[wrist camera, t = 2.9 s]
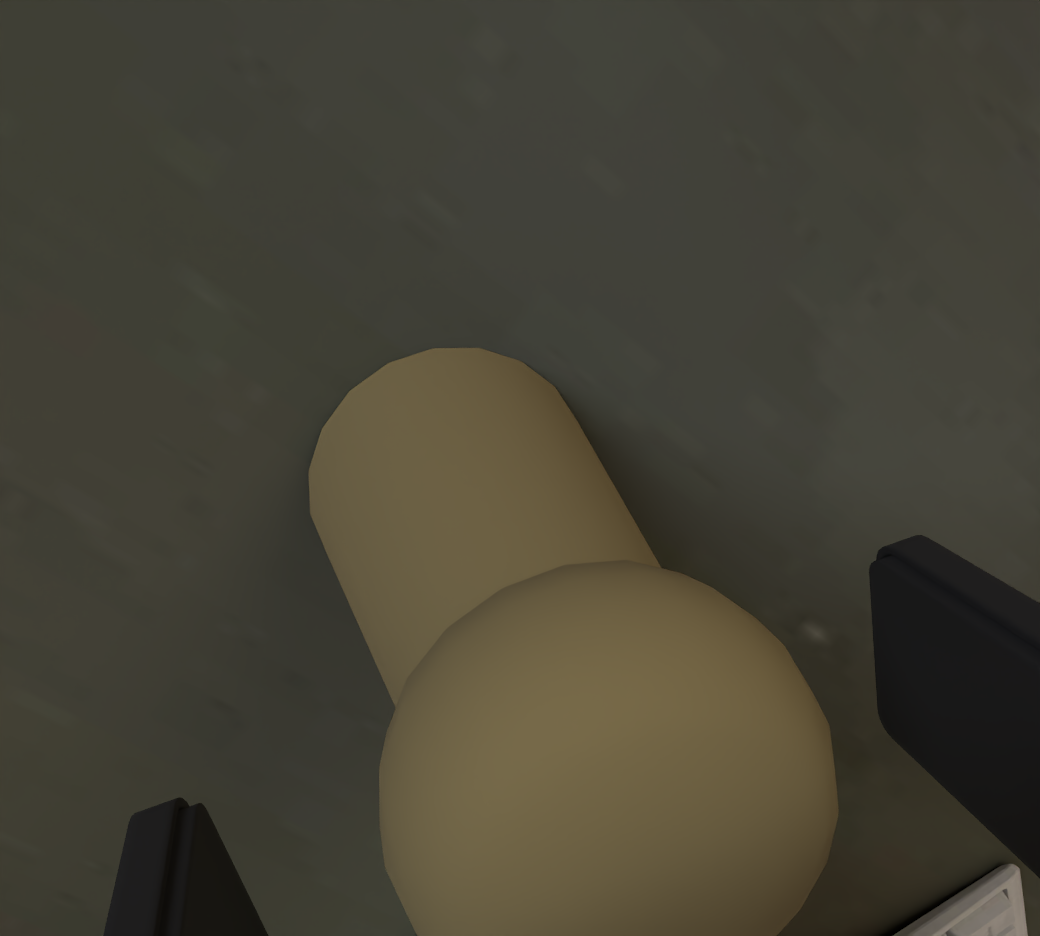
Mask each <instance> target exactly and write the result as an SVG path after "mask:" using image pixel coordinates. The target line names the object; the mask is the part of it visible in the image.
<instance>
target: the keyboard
mask: <svg viewBox="0 0 1040 936" xmlns="http://www.w3.org/2000/svg"><path fill="white" fill-rule="evenodd" d="M893 936H1028V934H1027V925H1026V917H1025V909H1024V900H1023V892H1022V884H1021V875H1020V869H1019V868H1018V867H1017V866H1016V865H1014V864H1004V865H1002V866H1000V867H998V868H996V869H995V870H993V871H992V872H990V873H989V874H987V875H986V876H984V877H983V878H981V879H979V880H978V881H976V882H975V883H973V884H972V885H970V886H969V887H967V888H966V889H964V890H962V891H961V892H959V893H958V894H956V895H955V896H953V897H952V898H950V899H949V900H947V901H945V902H944V903H942V904H941V905H939V906H938V907H936V908H935V909H933V910H932V911H930V912H928V913H927V914H925V915H924V916H922V917H921V918H919V919H918V920H916V921H915V922H913V923H912V924H910V925H908V926H907V927H905V928H904V929H902V930H901V931H899V932H898V933H896V934H895V935H893Z"/></svg>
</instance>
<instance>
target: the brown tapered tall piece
mask: <svg viewBox="0 0 1040 936" xmlns="http://www.w3.org/2000/svg"><path fill="white" fill-rule="evenodd" d="M309 495H310V514H311V517H312V519H313V522H314V524H315V526H316V529H317V531H318V534H319V536H320V539H321V541H322V543H323V546H324V548H325V551H326V553H327V555H328V557H329V560H330V562H331V564H332V566H333V569H334V571H335V573H336V575H337V578H338V580H339V582H340V584H341V587H342V589H343V591H344V593H345V596H346V598H347V600H348V602H349V605H350V607H351V609H352V611H353V613H354V616H355V618H356V620H357V622H358V625H359V627H360V629H361V631H362V634H363V636H364V638H365V640H366V643H367V645H368V647H369V649H370V652H371V654H372V656H373V658H374V661H375V663H376V665H377V667H378V670H379V672H380V674H381V676H382V679H383V681H384V683H385V685H386V687H387V690H388V692H389V694H390V696H391V699H392V701H393V703H394V705H395V708H396V709H395V711H394V714H393V717H392V719H391V722H390V725H389V727H388V730H387V733H386V737H385V742H384V747H383V752H382V757H381V762H380V767H379V819H380V834H381V841H382V849H383V857H384V864H385V869H386V871H387V873H388V875H389V877H390V880H391V882H392V884H393V886H394V888H395V890H396V892H397V895H398V897H399V899H400V901H401V903H402V905H403V907H404V910H405V912H406V914H407V916H408V918H409V920H410V922H411V924H412V926H413V928H414V930H415V932H416V934H417V936H777V935H778V934H779V933H780V932H781V930H782V929H783V928H784V927H785V926H786V925H787V924H788V923H789V922H790V921H791V920H792V918H793V917H794V916H795V915H796V914H797V913H798V912H799V911H800V909H801V908H802V906H803V904H804V902H805V901H806V899H807V897H808V895H809V893H810V892H811V890H812V888H813V886H814V885H815V883H816V881H817V879H818V878H819V876H820V874H821V872H822V871H823V869H824V867H825V865H826V863H827V861H828V857H829V853H830V849H831V844H832V840H833V836H834V832H835V828H836V824H837V819H838V815H839V808H838V796H837V785H836V775H835V767H834V758H833V750H832V742H831V734H830V726H829V724H828V722H827V720H826V718H825V716H824V714H823V712H822V710H821V708H820V706H819V704H818V702H817V700H816V698H815V696H814V694H813V693H812V691H811V689H810V687H809V686H808V684H807V682H806V681H805V679H804V677H803V676H802V674H801V672H800V671H799V669H798V667H797V666H796V664H795V662H794V661H793V659H792V657H791V656H790V654H789V652H788V651H787V649H786V648H785V646H784V645H783V644H782V643H781V642H780V641H779V640H778V639H777V638H776V637H775V636H774V635H773V634H772V633H771V632H770V631H769V630H768V629H767V628H766V627H765V626H764V625H763V624H762V623H761V622H760V621H759V620H757V619H756V618H755V617H754V616H752V615H751V614H749V613H748V612H747V611H745V610H744V609H742V608H741V607H739V606H738V605H736V604H735V603H734V602H732V601H731V600H729V599H728V598H726V597H725V596H723V595H722V594H721V593H719V592H718V591H716V590H715V589H713V588H712V587H710V586H708V585H706V584H704V583H702V582H699V581H697V580H695V579H693V578H691V577H689V576H686V575H684V574H682V573H679V572H675V571H671V570H667V569H662V568H661V566H660V565H659V563H658V561H657V559H656V558H655V556H654V554H653V553H652V551H651V549H650V547H649V546H648V544H647V542H646V540H645V539H644V537H643V535H642V533H641V532H640V530H639V528H638V526H637V525H636V523H635V521H634V519H633V518H632V516H631V514H630V512H629V511H628V509H627V507H626V505H625V504H624V502H623V500H622V498H621V497H620V495H619V493H618V491H617V490H616V488H615V486H614V484H613V483H612V481H611V479H610V477H609V476H608V474H607V472H606V470H605V469H604V467H603V465H602V464H601V462H600V460H599V458H598V457H597V455H596V453H595V451H594V450H593V448H592V446H591V444H590V443H589V441H588V439H587V437H586V436H585V434H584V432H583V430H582V429H581V427H580V425H579V423H578V422H577V420H576V418H575V417H574V415H573V414H572V412H571V411H570V409H569V408H568V406H567V405H566V403H565V402H564V400H563V399H562V397H561V395H560V394H559V392H558V391H557V389H556V388H555V386H553V385H552V384H551V383H549V382H548V381H547V380H545V379H544V378H543V377H541V376H540V375H539V374H537V373H536V372H535V371H533V370H532V369H531V368H529V367H528V366H527V365H525V364H524V363H523V362H521V361H518V360H515V359H512V358H509V357H506V356H503V355H500V354H497V353H494V352H491V351H488V350H484V349H481V348H433V349H430V350H427V351H423V352H420V353H417V354H414V355H411V356H408V357H405V358H402V359H399V360H396V361H393V362H390V363H388V364H386V365H385V366H384V367H382V368H381V369H379V370H378V371H377V372H375V373H374V374H372V375H371V376H370V377H368V378H367V379H365V380H364V381H363V382H361V383H360V384H359V385H357V386H356V387H354V388H353V389H352V390H350V391H349V392H348V394H347V395H346V396H345V398H344V399H343V401H342V402H341V403H340V405H339V406H338V407H337V409H336V410H335V411H334V413H333V414H332V416H331V417H330V418H329V420H328V421H327V422H326V424H325V425H324V426H323V428H322V430H321V433H320V436H319V440H318V443H317V446H316V449H315V452H314V455H313V459H312V462H311V465H310V468H309Z"/></svg>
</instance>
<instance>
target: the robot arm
mask: <svg viewBox="0 0 1040 936" xmlns="http://www.w3.org/2000/svg"><path fill="white" fill-rule="evenodd" d="M869 576H870V592H871V608H872V625H873V641H874V657H875V673H876V690H877V706H878V714H879V717H880V720H881V723H882V725H883V727H884V728H885V730H886V731H887V733H888V734H889V735H890V736H891V737H892V739H894V740H895V741H896V742H897V743H898V744H899V745H900V746H901V747H902V748H903V749H904V750H905V751H906V752H907V753H908V754H909V755H910V756H911V757H912V758H914V759H915V760H916V761H917V762H918V763H919V764H920V765H921V766H922V767H923V768H924V769H925V770H926V771H927V772H928V773H929V774H930V775H931V776H933V777H934V778H935V779H936V780H937V781H938V782H939V783H940V784H941V785H942V786H943V787H944V788H945V789H946V790H947V791H948V792H949V793H950V794H951V795H953V796H954V797H955V798H956V799H957V800H958V801H959V802H960V803H961V804H962V805H963V806H964V807H965V808H966V809H967V810H968V811H969V812H970V813H971V814H973V815H974V816H975V817H976V818H977V819H978V820H979V821H980V822H981V823H982V824H983V825H984V826H985V827H986V828H987V829H988V830H989V831H990V832H992V833H993V834H994V835H995V836H996V837H997V838H998V839H999V840H1000V841H1001V842H1002V843H1003V844H1004V845H1005V846H1006V847H1007V848H1008V849H1009V850H1010V851H1012V852H1013V853H1014V854H1015V855H1016V856H1017V857H1018V858H1019V859H1020V860H1021V861H1022V862H1023V863H1024V864H1025V865H1026V866H1027V867H1028V868H1029V869H1031V870H1032V871H1033V872H1034V873H1035V874H1036V875H1037V876H1038V877H1039V878H1040V603H1038V602H1036V601H1035V600H1033V599H1031V598H1029V597H1028V596H1026V595H1024V594H1023V593H1021V592H1019V591H1017V590H1016V589H1014V588H1012V587H1011V586H1009V585H1007V584H1006V583H1004V582H1002V581H1000V580H999V579H997V578H995V577H994V576H992V575H990V574H989V573H987V572H985V571H983V570H982V569H980V568H978V567H977V566H975V565H973V564H972V563H970V562H968V561H966V560H965V559H963V558H961V557H960V556H958V555H956V554H955V553H953V552H951V551H949V550H948V549H946V548H944V547H943V546H941V545H939V544H938V543H936V542H934V541H932V540H931V539H929V538H927V537H925V536H922V535H916V536H913V537H910V538H907V539H904V540H902V541H899V542H896V543H893V544H890V545H888V546H885V547H882V548H881V549H880V550H879V551H878V554H877V559H876V561H874V562H873V563H871V565H870V570H869ZM103 936H268V934H267V932H266V930H265V928H264V926H263V924H262V922H261V920H260V918H259V916H258V913H257V911H256V909H255V907H254V905H253V903H252V901H251V899H250V897H249V895H248V893H247V891H246V889H245V887H244V885H243V883H242V881H241V879H240V877H239V875H238V873H237V871H236V869H235V866H234V864H233V862H232V860H231V858H230V856H229V854H228V852H227V850H226V848H225V846H224V844H223V842H222V840H221V838H220V836H219V834H218V832H217V830H216V828H215V826H214V824H213V822H212V819H211V817H210V815H209V813H208V811H207V810H206V808H205V806H204V805H203V804H202V803H198V804H195V805H193V806H190V807H189V805H188V803H187V802H186V801H185V800H184V799H183V798H176V799H174V800H171V801H168V802H165V803H162V804H160V805H157V806H154V807H151V808H148V809H145V810H143V811H140V812H137V813H135V814H134V815H132V816H131V819H130V821H129V825H128V829H127V834H126V838H125V842H124V847H123V851H122V856H121V860H120V864H119V869H118V873H117V878H116V882H115V887H114V891H113V895H112V900H111V904H110V909H109V913H108V918H107V922H106V926H105V931H104V935H103Z"/></svg>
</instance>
